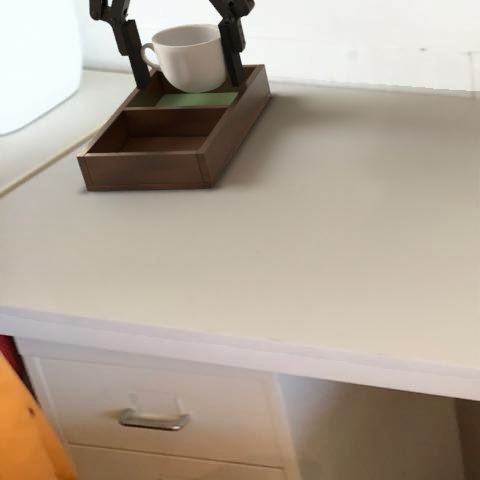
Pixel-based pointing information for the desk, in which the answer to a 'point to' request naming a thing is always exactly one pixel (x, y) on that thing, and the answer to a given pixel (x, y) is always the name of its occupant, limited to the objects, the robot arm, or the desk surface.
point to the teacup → (189, 57)
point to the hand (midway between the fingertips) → (191, 83)
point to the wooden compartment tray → (173, 135)
